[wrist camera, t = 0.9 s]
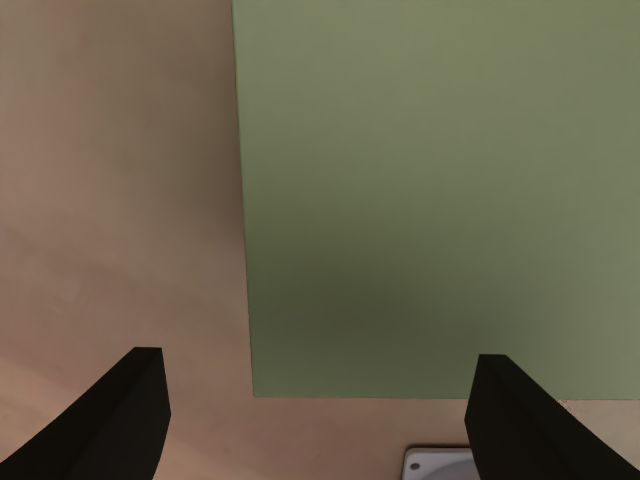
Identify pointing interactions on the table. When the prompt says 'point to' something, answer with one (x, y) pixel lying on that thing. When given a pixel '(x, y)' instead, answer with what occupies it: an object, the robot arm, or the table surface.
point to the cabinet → (440, 194)
